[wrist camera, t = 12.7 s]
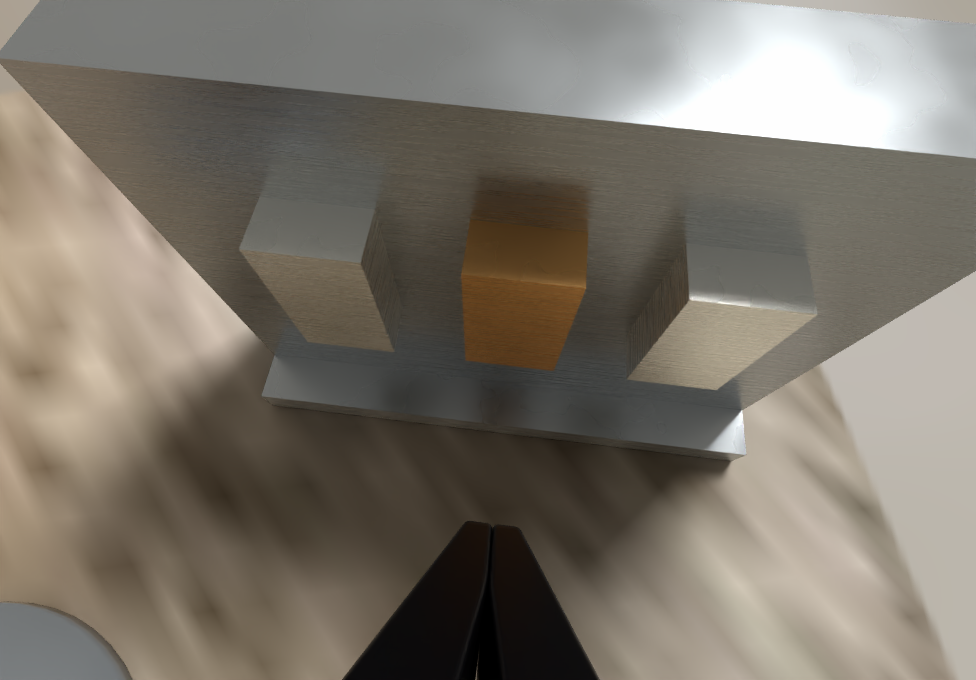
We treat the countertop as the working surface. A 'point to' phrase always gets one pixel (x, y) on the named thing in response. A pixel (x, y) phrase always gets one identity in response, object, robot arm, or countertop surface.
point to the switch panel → (532, 193)
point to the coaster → (53, 646)
